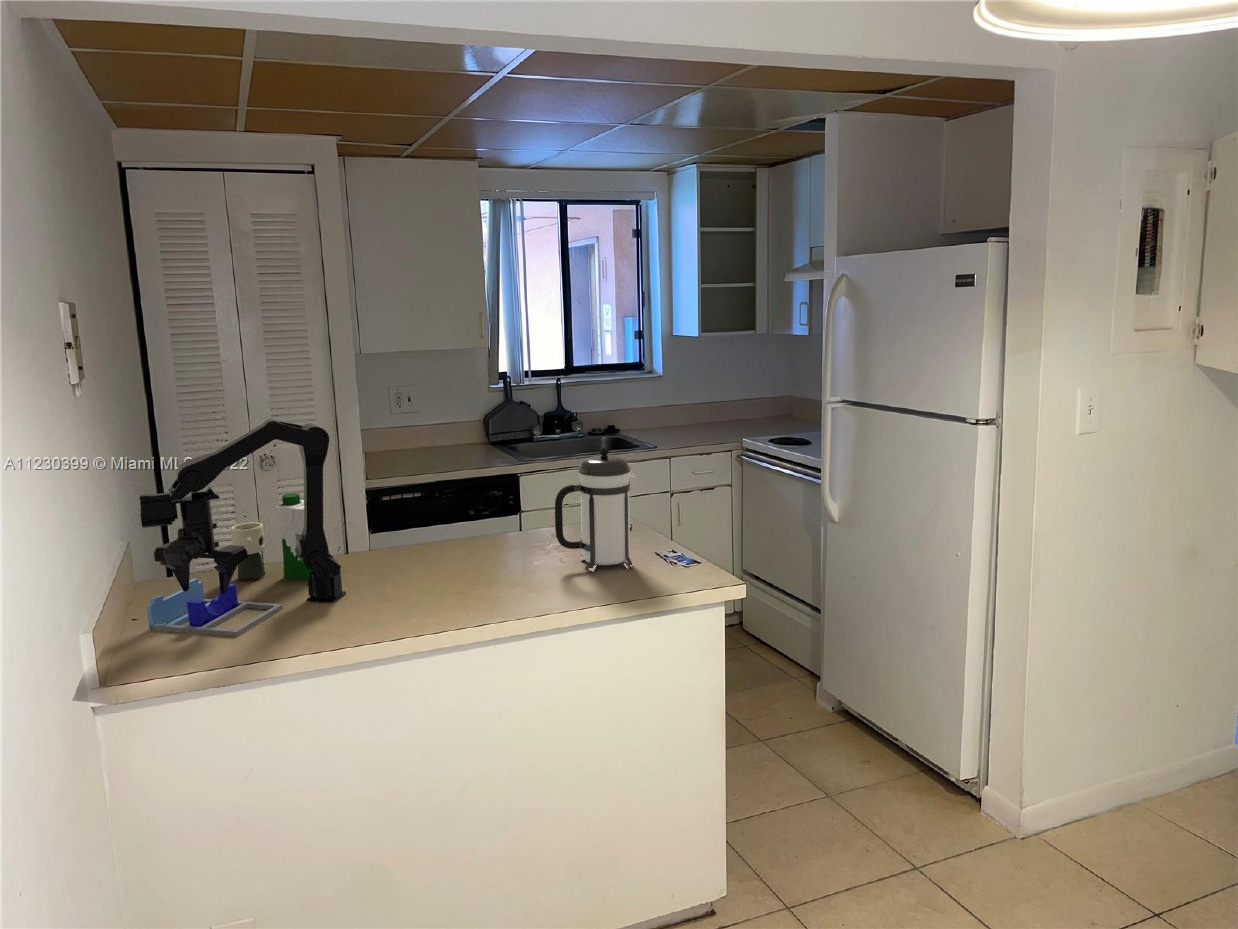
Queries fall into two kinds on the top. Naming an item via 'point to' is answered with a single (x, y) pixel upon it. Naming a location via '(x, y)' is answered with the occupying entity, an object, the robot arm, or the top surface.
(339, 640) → the top surface
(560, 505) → the coffee press
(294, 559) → the milk carton
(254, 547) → the character mug
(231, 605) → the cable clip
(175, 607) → the blue grey rack
